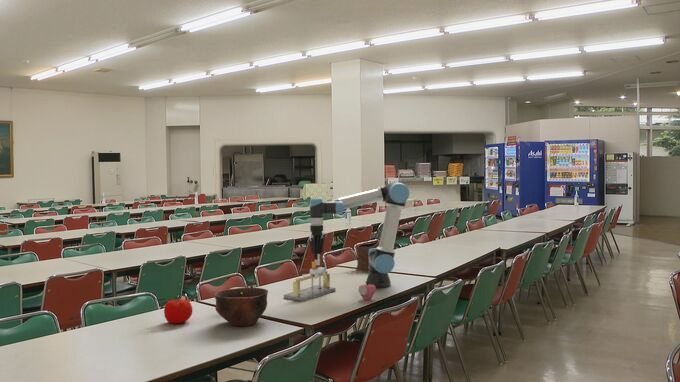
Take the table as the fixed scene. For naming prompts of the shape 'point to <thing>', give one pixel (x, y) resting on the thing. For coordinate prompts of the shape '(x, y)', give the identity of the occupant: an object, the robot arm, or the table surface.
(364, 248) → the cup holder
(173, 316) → the tomato
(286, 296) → the grey and yellow frame
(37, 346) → the table surface
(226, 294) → the bowl
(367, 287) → the apple
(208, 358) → the table surface
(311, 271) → the slider leg
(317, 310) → the table surface
